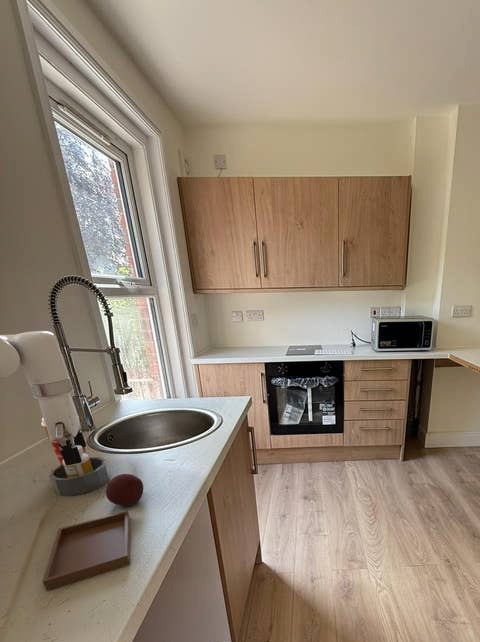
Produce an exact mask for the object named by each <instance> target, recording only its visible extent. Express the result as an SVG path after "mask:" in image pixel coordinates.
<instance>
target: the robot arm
mask: <svg viewBox="0 0 480 642" xmlns="http://www.w3.org/2000/svg"><path fill="white" fill-rule="evenodd" d="M19 367H21V368H22V370H23V373H24V375H25V378H26V380H27V383H28V386H29V388H30V391H31V394H32V396H33V398H34V399H35V400H38V402H39V408H40V411H41V415H42V418H44V421H45V424H46V427H47V431H48V434H49V437H50V439H51V440H52V441H56V440H57V441H58V444H59V449H60V451H61V454H62V457H63V459H64V462H65V464H66V465H67V466H68V465H73V464H77V463H81V462H82V459H81V456H80V454H79V451H78V448H77V447H75V446H76V445H79V446H82V448H83V447H85V448H86V447H87V442H86V439H85V437H84V434H83V432H82V430H81V422H80V417H79V418H78V416H79V415H78V412H77V409H76V407H75V403H74V401H73V398H72V396H71V394H74V392H75V389H74V386H73V383H72V381H71V377H70V374H69V371H68V368H67V365H66V363H65V359H64V357H63V354H62V351H61V348H60V345H59V342H58V339H57V337H56V335H55V334H54V333H53V332H51V331H47V330H36V331H35V330H34V331H26V332H20V333H17V334H0V378H6V377H9V376H11V375H12V374H14V373H15V372H17V370H18V369H19ZM68 434H69V435H68ZM65 435H67V436H65ZM49 437H48V438H49Z"/></svg>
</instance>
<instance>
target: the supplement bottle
mask: <svg viewBox="0 0 480 642" xmlns="http://www.w3.org/2000/svg"><path fill="white" fill-rule="evenodd" d="M75 447H77V448H78V451H79V454H80V456H81V459H82V462H81V463H77V464H73V465H68V466H67V465H66V464H65V462H64V459H63V465H64V468H65V471H66V474H67V476H68V478H71V477H76V476H81V475H84V474H87V473H89V472H92V471H93V469H92V465H91V462H90V459H89V457H90V456H89V455H88V453H86V454H85V453H83V449H82V446H79V445H76V446H75Z"/></svg>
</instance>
